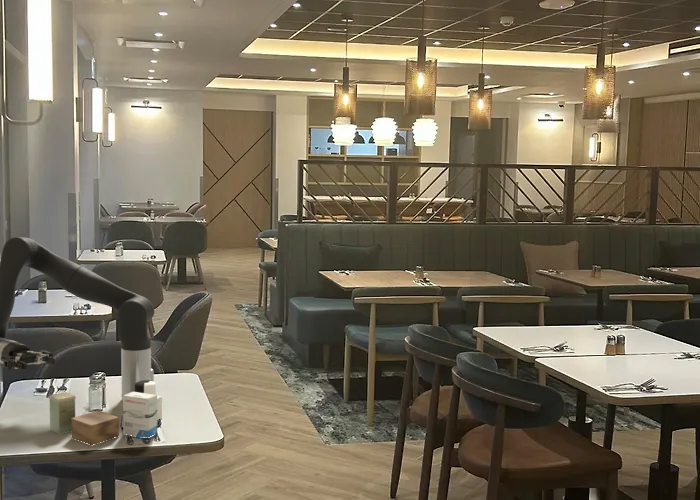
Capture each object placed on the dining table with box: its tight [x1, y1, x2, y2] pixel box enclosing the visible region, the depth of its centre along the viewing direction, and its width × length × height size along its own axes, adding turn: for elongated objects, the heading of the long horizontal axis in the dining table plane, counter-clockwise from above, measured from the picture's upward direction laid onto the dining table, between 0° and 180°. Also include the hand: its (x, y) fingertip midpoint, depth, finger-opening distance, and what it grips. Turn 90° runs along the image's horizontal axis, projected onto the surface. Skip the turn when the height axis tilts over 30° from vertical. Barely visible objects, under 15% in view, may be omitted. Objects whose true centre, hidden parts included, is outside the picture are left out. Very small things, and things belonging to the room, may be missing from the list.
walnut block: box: [71, 410, 120, 446], centre depth 221 cm, size 9×9×6 cm
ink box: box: [122, 392, 158, 438], centre depth 224 cm, size 8×5×12 cm, turn 71°
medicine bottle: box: [135, 380, 163, 421], centre depth 236 cm, size 7×7×12 cm
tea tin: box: [48, 391, 77, 435], centre depth 226 cm, size 5×5×10 cm
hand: (39, 364), depth 233 cm, fingers open, 8 cm apart
